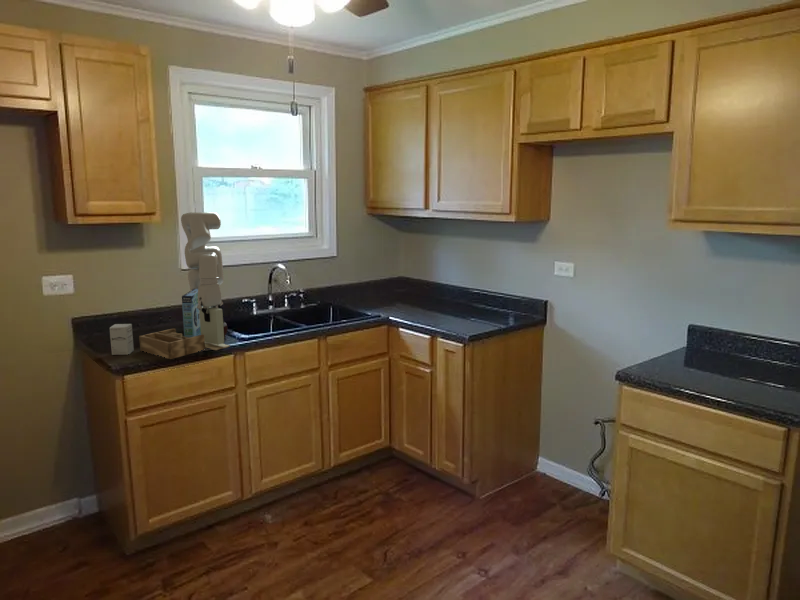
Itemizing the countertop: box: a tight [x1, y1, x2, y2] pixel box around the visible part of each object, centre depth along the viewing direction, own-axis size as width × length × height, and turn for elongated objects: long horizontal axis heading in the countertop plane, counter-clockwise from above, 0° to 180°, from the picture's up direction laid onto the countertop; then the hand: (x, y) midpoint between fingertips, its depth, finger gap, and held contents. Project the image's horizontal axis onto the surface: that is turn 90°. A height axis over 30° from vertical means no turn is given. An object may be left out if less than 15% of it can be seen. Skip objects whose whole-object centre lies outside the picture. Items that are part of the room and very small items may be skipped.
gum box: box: [181, 289, 203, 338], centre depth 288 cm, size 20×5×23 cm, turn 3°
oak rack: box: [138, 327, 206, 360], centre depth 267 cm, size 18×22×7 cm
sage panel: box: [199, 306, 225, 345], centre depth 273 cm, size 4×12×16 cm, turn 55°
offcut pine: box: [166, 332, 183, 339], centre depth 272 cm, size 4×6×3 cm
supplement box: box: [109, 323, 134, 356], centre depth 263 cm, size 7×7×13 cm
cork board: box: [205, 342, 231, 351], centre depth 274 cm, size 8×14×1 cm, turn 55°
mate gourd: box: [223, 321, 229, 340], centre depth 286 cm, size 8×8×15 cm
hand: (211, 320), depth 272 cm, fingers closed on sage panel, 3 cm apart
